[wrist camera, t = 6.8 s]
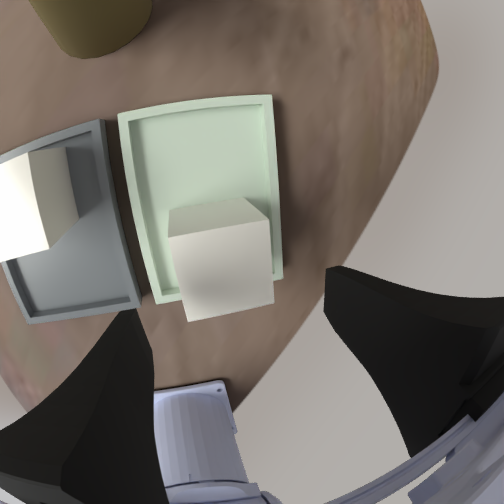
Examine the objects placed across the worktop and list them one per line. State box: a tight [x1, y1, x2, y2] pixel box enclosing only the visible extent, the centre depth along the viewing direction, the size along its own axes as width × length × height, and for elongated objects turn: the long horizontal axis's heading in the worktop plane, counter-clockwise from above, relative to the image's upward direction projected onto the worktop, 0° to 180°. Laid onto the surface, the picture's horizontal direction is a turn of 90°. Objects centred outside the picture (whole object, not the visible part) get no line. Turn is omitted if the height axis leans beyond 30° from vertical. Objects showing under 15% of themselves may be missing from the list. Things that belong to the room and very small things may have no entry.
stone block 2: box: [168, 197, 274, 322], centre depth 14 cm, size 4×4×4 cm
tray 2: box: [118, 95, 283, 304], centre depth 15 cm, size 11×8×1 cm
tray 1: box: [0, 119, 142, 325], centre depth 13 cm, size 11×9×1 cm
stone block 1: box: [0, 147, 79, 262], centre depth 10 cm, size 4×4×4 cm
